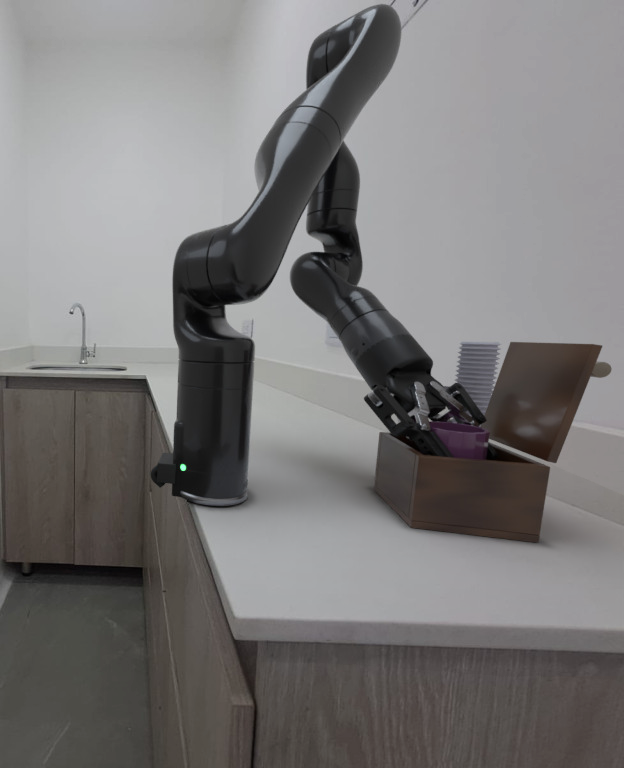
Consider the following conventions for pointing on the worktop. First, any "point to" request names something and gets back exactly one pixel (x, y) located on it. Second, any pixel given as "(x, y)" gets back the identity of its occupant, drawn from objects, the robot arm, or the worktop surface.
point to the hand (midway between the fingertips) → (467, 462)
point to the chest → (462, 490)
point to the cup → (462, 439)
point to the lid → (540, 395)
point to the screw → (478, 371)
